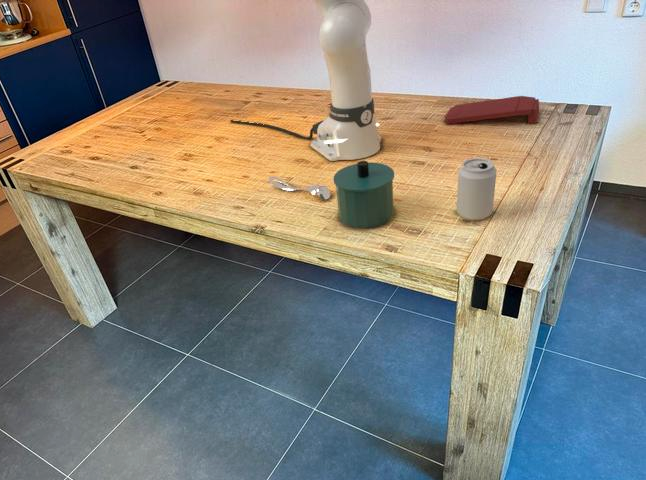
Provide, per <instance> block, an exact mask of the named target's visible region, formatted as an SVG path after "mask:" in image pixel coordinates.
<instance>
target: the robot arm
mask: <svg viewBox="0 0 646 480" xmlns="http://www.w3.org/2000/svg"><path fill="white" fill-rule="evenodd" d="M312 1H313V4H315V6H316V7H317V10H319V12H320V13H321V15H322V17H323V19H322V20H321V23H320V26H319V33H318V40H319V45H320V47H321V49H322V52H323V57H324V61H325V65H326V68H327V69H326V70H327V74H328V79H329V85H330V86H329V88H330V96H331V97H330V99H331V103H328V104H326V106H327V107H326V109H329V113H328V116H327V117H326V118H325V119H324V120H323V119H322V120H320V121H318V122H316V123H314V124H312V128H311V129H310V131H309V136H303V135H301V134H299V133H297V132H294V131H291V130H288V129H286V128H282V127H280V126H276V125H271V124H268V123H262V122H254V121H253V122H254V123H249V122H250V121H247V122H241V121H242V120H239V121H233V120H234V119H232V120H231V119H230V122H231V123H236V124H244V125H251V126H258V127H264V128H269V129H272V130H273V129H274V130H278V131H280V132H283V133H286V134H289V135H292V136H295V137H297V138H299V139H302V140H307V141H310V140H311V139H313V136H314V135H317V137H316V138H314V139H313V140H311V142H310V148H312V149H314V150H315V151H316V152H318V153H319V154H320V155H322V156H323V157H325V158H326V159H327V160H329V161H330V162H336V161H353V160H360V159H366V158H368V157H369V158H370V157H371V156H374V155H375V154H377V153H379V151H380V149H381V144H380V143H381V141H382V137H381V136H380V135H379V130H378V127H380V123H378V122H377V116H376V114H375V100H374V98H373V93H372V90H373V89H372V74H371V68H370V64H369V59H368V52H367V51H368V50H367V44H366V42H367V41H366V38H367V35H368V33H369V32H370V29H371V25H372V13H371V10H370V7H369V6H368V4H367V3H366V1H365V0H312ZM257 123H258V124H257ZM263 124H264V125H263Z"/></svg>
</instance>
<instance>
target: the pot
mask: <svg viewBox="0 0 646 480" xmlns="http://www.w3.org/2000/svg"><path fill="white" fill-rule="evenodd" d="M393 180H394V179H393ZM393 180H392V181H391V182H390V183H389V184H388V185H386V186H384V187H382V188H379V189H376V190H372V191H366V192H351V191H346V190H343V189H340V188H338V187H337V186H336V185H335V191H336V201H337V209H338V210H337V211H338V217H339V220H340V222H341V223H342V224H344V225H345V226H347V227H349V228H350V227H351V228H354V229H372V228H376V227H380V226H382V225H385V224H386V223H387V222H389V221H390V220H391V219H392V217H393V216H394V209H395V208H394V182H393Z"/></svg>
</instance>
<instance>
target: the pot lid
mask: <svg viewBox="0 0 646 480" xmlns="http://www.w3.org/2000/svg"><path fill="white" fill-rule="evenodd" d="M394 179H395V171H394V169H393V168H392V167H391V166H389V165H387V164H384V163H379V162H370V161H369V162H368V161H367V160H360V161H358V162H357V163H353V164H350V165H347V166H344V167H343V168H341V169H339V170H338V171H336V173H335V174H334V175H333V183H334V185H335V187H336V186H337V187H338V188H340V189H343V190H346V191H351V192H366V191H372V190H376V189H379V188H382V187H384V186H386V185H388V184H389V183H390V182H391V181H392V180H394Z"/></svg>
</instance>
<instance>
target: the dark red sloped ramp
mask: <svg viewBox="0 0 646 480" xmlns="http://www.w3.org/2000/svg"><path fill="white" fill-rule="evenodd" d="M539 114H540V99H539V98H536V97H533V96H528V95H527V96H526V95H517V96H511V97H510V96H509V97H503V98H497V99H490V100H482V101H474V102H468V103H467V102H466V103H462V104H456V105H453V106H452V107H450V108H449V110H448V111H447V113H446V114H445V116H444V119H445V120H444V122H445V123H447V124H448V125H450V124H458V123H466V122H473V121H474V122H475V121H481V120H482V121H483V120H488V119H489V120H490V119H498V118H504V117H505V118H506V117H513V116H525V115H527V119H528V121H527V122H528V124H535V123H537V122H538V117H539Z"/></svg>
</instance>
